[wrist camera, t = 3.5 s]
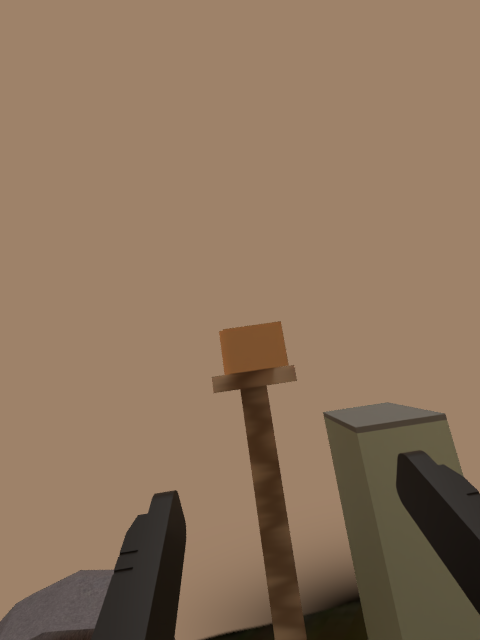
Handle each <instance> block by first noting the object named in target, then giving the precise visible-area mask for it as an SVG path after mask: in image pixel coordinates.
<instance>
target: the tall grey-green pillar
mask: <svg viewBox="0 0 480 640" xmlns="http://www.w3.org/2000/svg"><path fill="white" fill-rule="evenodd" d="M323 414H324V419H325V424H326V428H327V434H328V439H329V444H330V449H331V454H332V459H333V464H334V469H335V474H336V479H337V484H338V490H339V494H340V499H341V504H342V509H343V515H344V520H345V525H346V530H347V535H348V539H349V545H350V550H351V555H352V560H353V565H354V570H355V575H356V580H357V585H358V590H359V595H360V600H361V605H362V610H363V616H364V621H365V626H366V631H367V636H368V640H480V615H479V613H478V612H477V610H476V609H475V608H474V606H473V605H472V603H471V602H470V600H469V599H468V598H467V596H466V595H465V593H464V592H463V590H462V589H461V587H460V586H459V585H458V583H457V582H456V580H455V579H454V577H453V576H452V575H451V573H450V572H449V570H448V569H447V567H446V566H445V565H444V563H443V562H442V560H441V559H440V557H439V556H438V554H437V553H436V552H435V550H434V549H433V547H432V546H431V544H430V543H429V542H428V540H427V539H426V537H425V536H424V534H423V533H422V532H421V530H420V529H419V527H418V526H417V524H416V523H415V521H414V520H413V519H412V517H411V516H410V514H409V513H408V511H407V510H406V509H405V507H404V506H403V504H402V502H401V500H400V498H399V496H398V493H397V489H396V475H397V458H398V454H400V453H405V452H411V451H417V450H422V451H424V452H425V453H426V454H428V455H429V456H430V457H431V458H432V459H433V461H434V462H435V463H436V464H437V465H442V464H444V465H446V466H447V467H449V468H450V469H452V470H454V471H455V472H457V473H458V474H460V475H462V476H463V473H462V470H461V466H460V463H459V460H458V456H457V453H456V449H455V446H454V442H453V439H452V435H451V432H450V429H449V425H448V422H447V418H446V415H445V414H444V413H438V412H434V411H428V410H423V409H418V408H413V407H407V406H403V405H397V404H393V403H381V404H375V405H368V406H361V407H355V408H348V409H342V410H335V411H329V412H323Z"/></svg>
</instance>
